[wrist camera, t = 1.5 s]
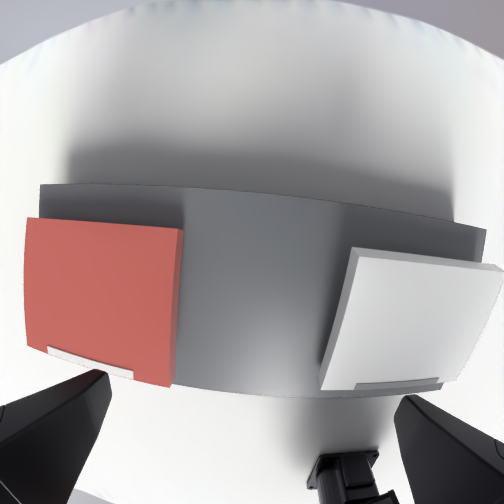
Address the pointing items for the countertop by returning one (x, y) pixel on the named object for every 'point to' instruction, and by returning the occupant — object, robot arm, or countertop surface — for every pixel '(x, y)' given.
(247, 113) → the countertop surface
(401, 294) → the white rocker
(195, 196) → the switch box
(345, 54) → the countertop surface
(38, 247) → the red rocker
